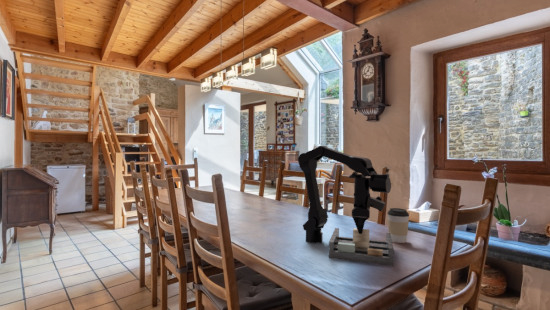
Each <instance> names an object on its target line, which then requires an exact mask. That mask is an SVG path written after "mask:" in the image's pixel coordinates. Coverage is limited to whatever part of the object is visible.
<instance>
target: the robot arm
mask: <svg viewBox="0 0 550 310" xmlns="http://www.w3.org/2000/svg"><path fill="white" fill-rule="evenodd" d="M323 157H324V158H328V159H329V160H333V161H336V162H338V163H340V164H343V165H345V166H346V167H348V168H349V169H350V170H352V171H353V172H352V173H351V174H350V175H349V176H348V178H350V179H354V181H353V182H354V183H353V208H352V209H351V217H352V219H353V222H354V224H355V228H357V230H358V232H359V234H362V232H363V229H365V228H364V227H365V224H366V221H367V220H369V219H370V216H371V215H370V213H371V211H370V209H371V208H373V209H376V210H377V211H378V212H383V211H384V208H385V207H386V202H384V200H382V197H381V196H376V197H373V196H371V193H370V191H372V192H375V193H385V194H389V193H390V192H391V190H392V182H391V178H390V174H389V173H388V174H386V173H385V174H379V173H378V172H377V171H376V170H375V168H374V167H373V163H372V160H371V159H370V158H369V157H364V156H357V155H356V156H354V155H350V154H347V153H344V152H342V151H338V150H336V149H333V148H330V147H328V146H326V145H319V146H317V147H315V148H314V149H312V150H308V151H307V152H302V153H300V155H299V156H298V157H297V162H298V166H299V169H300V170H301V171H302V173H303V174H304V179H305V185H306V192H307V198H308V204H309V209H308V212H307V220H306V221H305V222H304V223H303V225H302V228H303V230H304V231H305V243H311V244H322V243H323V239H324V238H323V237H324V236H323V235H324V234H323V232H322V229H324V227H325V225H326V224H327V222H328V218H329V215H328V209H327V208H324V207H323V206H322V203H321V197H320V192H319V186H318V181H317V175H316V173H317V172H316V171H317V168H318V161H320V160H321V159H322V158H323Z"/></svg>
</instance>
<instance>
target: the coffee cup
mask: <svg viewBox="0 0 550 310" xmlns="http://www.w3.org/2000/svg"><path fill="white" fill-rule="evenodd" d="M386 214H387V225H388V226H387V228H388V229H387V230H388V233H390V235H391V239H392V243H398V244H400V243H401V244H404V243H407V239H408V238H407V236H408V232H409V231H408V230H409V223H410V221H409V218H410V213H409V212H408V210H407V209H405V208H398V207H397V208H396V207H394V208H393V207H392V208H391V207H390V208H389V210H388V211H387V213H386Z"/></svg>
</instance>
